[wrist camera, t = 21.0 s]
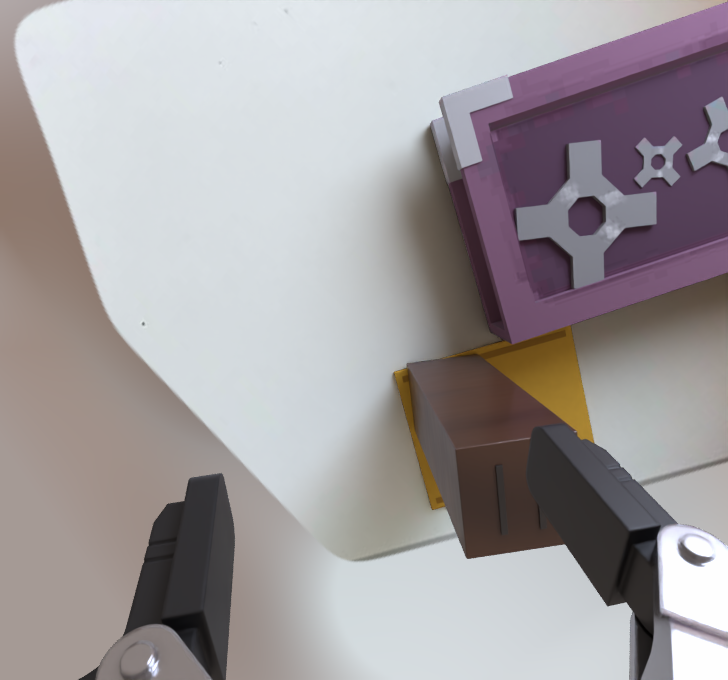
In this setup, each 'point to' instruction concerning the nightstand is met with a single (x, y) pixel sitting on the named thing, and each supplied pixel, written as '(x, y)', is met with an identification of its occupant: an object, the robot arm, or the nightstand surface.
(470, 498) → the knife block
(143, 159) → the nightstand surface
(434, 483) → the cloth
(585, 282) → the book
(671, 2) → the nightstand surface
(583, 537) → the robot arm
